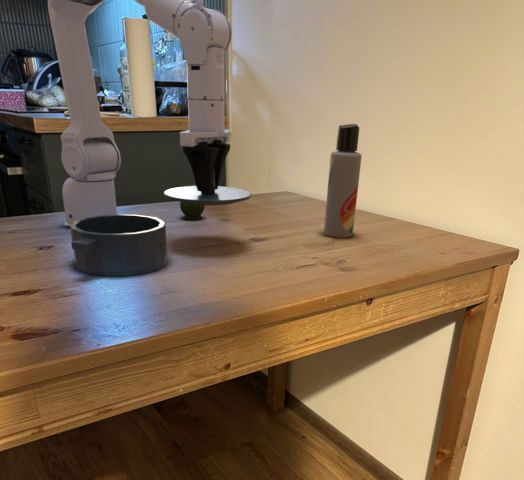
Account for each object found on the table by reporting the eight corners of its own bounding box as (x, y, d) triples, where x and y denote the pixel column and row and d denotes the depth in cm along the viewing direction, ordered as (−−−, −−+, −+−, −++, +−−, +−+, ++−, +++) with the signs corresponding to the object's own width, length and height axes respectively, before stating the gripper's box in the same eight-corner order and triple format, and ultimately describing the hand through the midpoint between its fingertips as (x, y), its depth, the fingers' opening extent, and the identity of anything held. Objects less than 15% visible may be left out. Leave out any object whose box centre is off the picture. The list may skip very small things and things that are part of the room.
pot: (43, 273, 71) (36, 232, 69) (120, 243, 87) (116, 208, 85) (125, 287, 67) (121, 243, 65) (189, 252, 84) (188, 216, 81)
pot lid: (147, 202, 81) (145, 168, 78) (189, 189, 93) (188, 160, 91) (230, 210, 76) (230, 176, 74) (262, 196, 89) (263, 166, 86)
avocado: (176, 219, 106) (174, 185, 103) (187, 214, 111) (186, 182, 108) (198, 221, 105) (197, 187, 102) (208, 217, 109) (208, 184, 106)
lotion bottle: (358, 236, 98) (371, 125, 89) (337, 239, 95) (348, 124, 86) (338, 230, 102) (349, 123, 93) (317, 233, 99) (326, 123, 90)
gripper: (209, 100, 71) (210, 198, 77) (246, 101, 83) (245, 186, 89) (165, 98, 73) (170, 194, 79) (208, 100, 85) (209, 183, 91)
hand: (207, 190), depth 84 cm, fingers closed on pot lid, 2 cm apart
